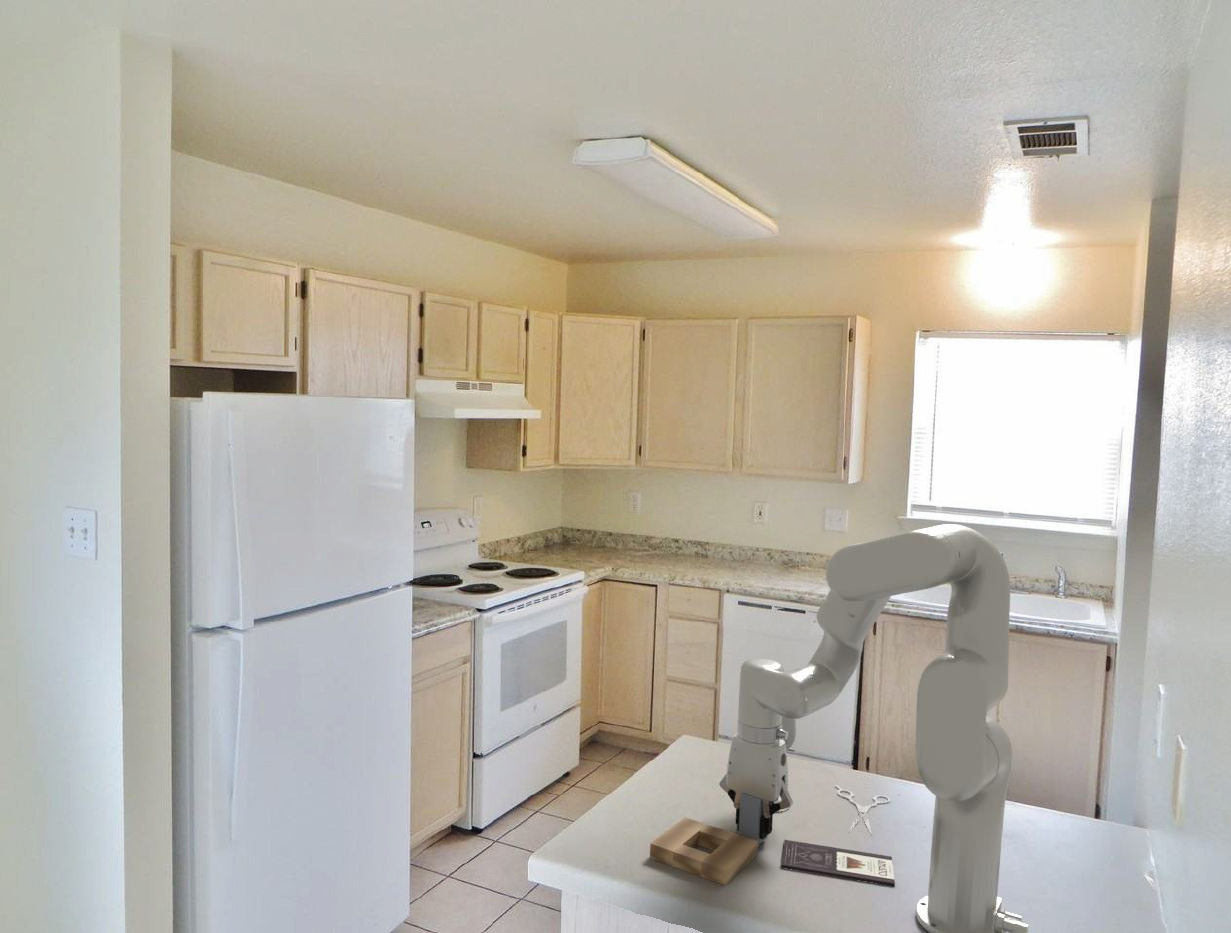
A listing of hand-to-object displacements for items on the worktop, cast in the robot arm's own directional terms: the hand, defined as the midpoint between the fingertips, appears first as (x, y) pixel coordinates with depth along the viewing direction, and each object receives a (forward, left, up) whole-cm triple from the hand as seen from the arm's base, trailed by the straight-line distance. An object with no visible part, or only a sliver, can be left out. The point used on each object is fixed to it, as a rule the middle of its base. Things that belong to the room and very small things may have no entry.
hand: (753, 831), depth 157 cm
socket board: (+4, +11, -1) cm, 12 cm away
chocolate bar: (-15, -1, -2) cm, 15 cm away
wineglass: (+3, -15, -1) cm, 15 cm away
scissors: (-12, -23, -2) cm, 26 cm away
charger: (0, 0, -1) cm, 1 cm away
